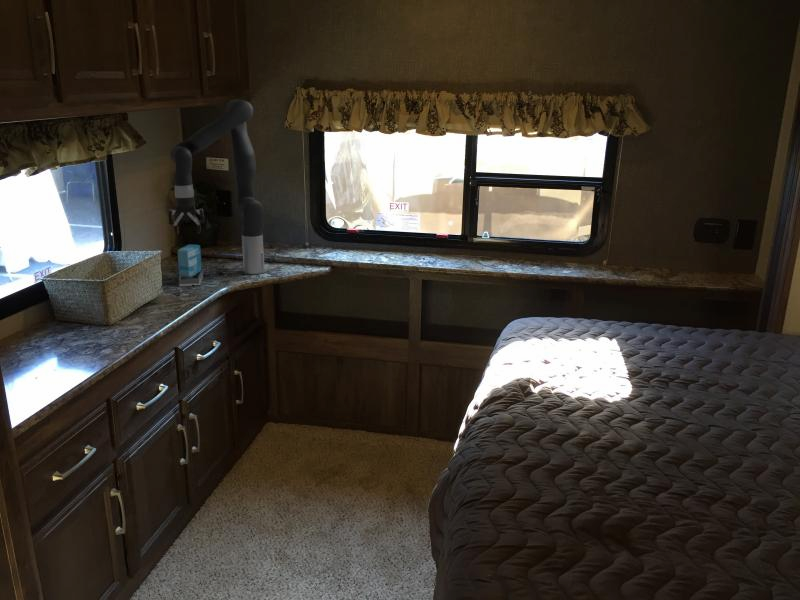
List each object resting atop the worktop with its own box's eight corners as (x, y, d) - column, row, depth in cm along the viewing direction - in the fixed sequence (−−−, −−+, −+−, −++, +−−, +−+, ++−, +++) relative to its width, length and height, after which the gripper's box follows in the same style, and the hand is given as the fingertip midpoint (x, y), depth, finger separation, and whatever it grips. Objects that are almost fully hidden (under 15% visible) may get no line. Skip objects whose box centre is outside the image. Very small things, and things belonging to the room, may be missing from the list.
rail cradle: (203, 275, 302) (202, 264, 301) (199, 285, 287) (198, 274, 286) (184, 275, 301) (183, 265, 299) (179, 286, 286) (178, 275, 284)
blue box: (189, 278, 287) (187, 250, 283) (179, 277, 288) (177, 249, 284) (202, 270, 298) (200, 244, 294) (192, 270, 299) (190, 243, 295)
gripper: (203, 193, 287) (206, 231, 292) (168, 194, 285) (171, 232, 290) (201, 196, 280) (204, 235, 285) (165, 197, 278) (169, 236, 283)
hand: (188, 233), depth 288 cm, fingers open, 8 cm apart
